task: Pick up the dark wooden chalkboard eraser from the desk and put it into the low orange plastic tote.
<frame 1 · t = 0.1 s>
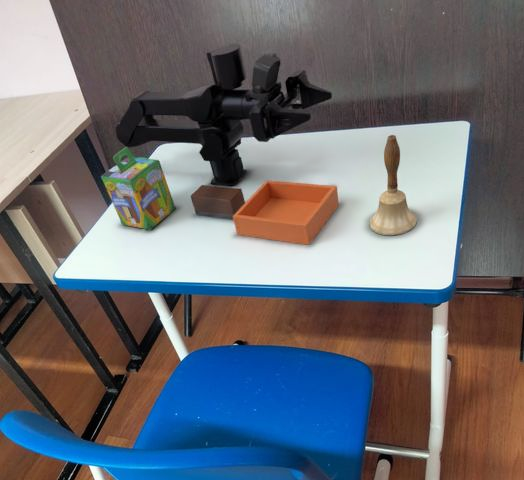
hand: (321, 105, 97), 17 cm above the table, tool horizontal, fingers open, 9 cm apart
hand bell: (393, 223, 95), on the table
tote: (288, 219, 103), on the table
eraser: (221, 211, 110), on the table
chalk box: (149, 217, 115), on the table
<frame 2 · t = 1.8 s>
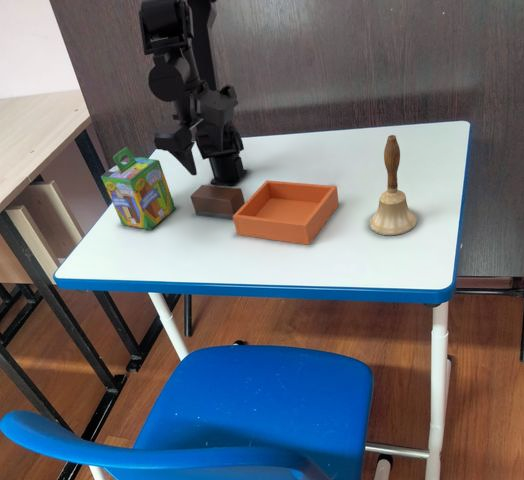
hand: (207, 163, 103), 11 cm above the table, tool pointing down, fingers open, 9 cm apart
nothing on the table moved.
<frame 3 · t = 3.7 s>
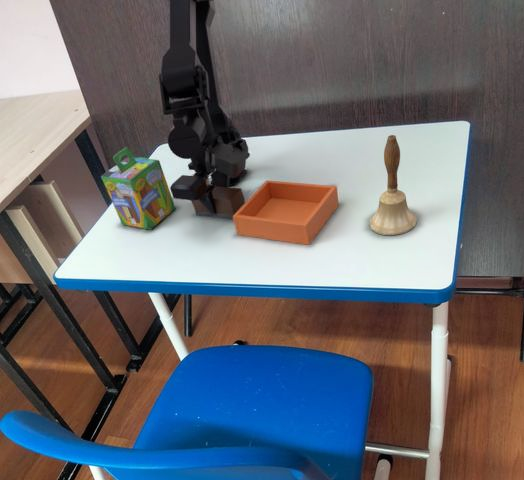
hand: (219, 207, 110), 1 cm above the table, tool pointing down, fingers closed on eraser, 4 cm apart
eraser: (221, 211, 110), on the table, touching gripper
everything else where it was.
when the fingers open (2 cm above the table, at t = 9.0 s): eraser stays where it is, resting on tote.
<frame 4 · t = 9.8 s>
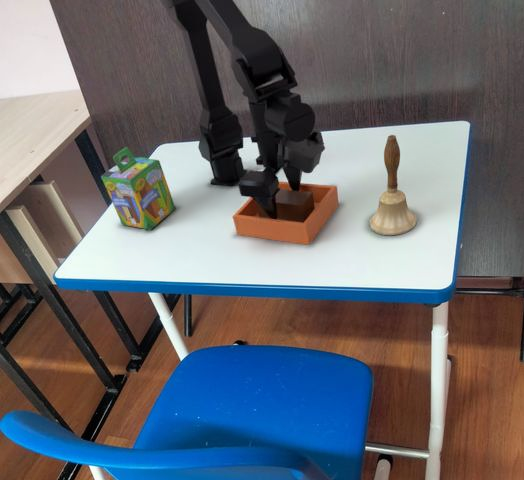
hand: (285, 206, 101), 3 cm above the table, tool pointing down, fingers open, 9 cm apart
eraser: (287, 217, 103), point 1 cm above the table, touching tote
everything else where it was.
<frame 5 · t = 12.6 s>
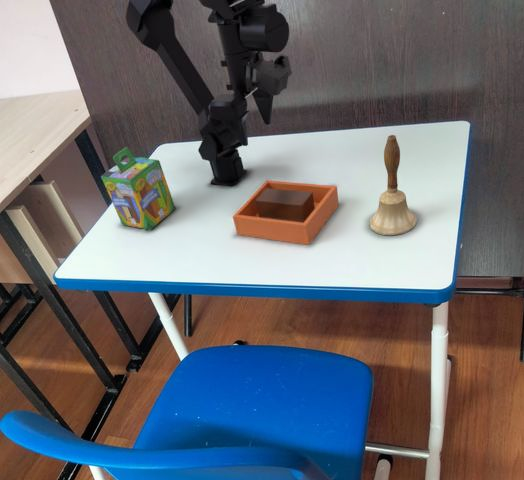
hand: (256, 134, 105), 12 cm above the table, tool pointing down, fingers open, 9 cm apart
nothing on the table moved.
at the end: eraser inside the target area in the tote (0.1 cm from its centre), point 0.6 cm above the tote's base; the gripper is holding nothing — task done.
